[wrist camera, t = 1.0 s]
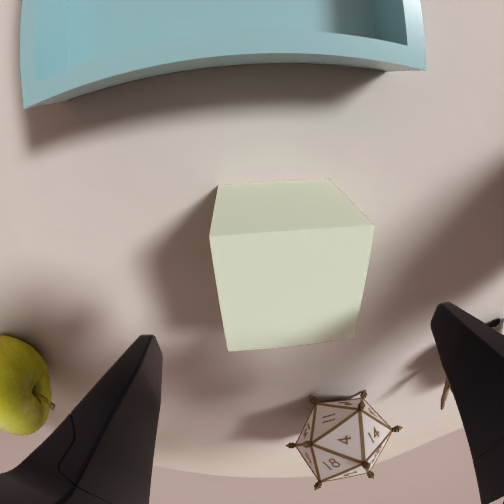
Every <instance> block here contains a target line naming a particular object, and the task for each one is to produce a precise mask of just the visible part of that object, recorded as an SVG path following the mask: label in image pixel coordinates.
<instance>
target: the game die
mask: <svg viewBox="0 0 504 504" xmlns="http://www.w3.org/2000/svg"><path fill="white" fill-rule="evenodd" d="M366 395H367V393H366V390H365V391H364V392H362V393H361V395H360V396H361V398H357V399H349V400H340V401H330V402H317V399H316V398H315V397H313V396H311V395H310V401H311V402H312V403H313V404H314V407H313V409H312V411H311V414H310V416H309V418H308V420H307V422H306V424H305V426H304V428H303V430H302V432H301V434H300V436H299V438H298V440H297V442H296V443H289V444H288V445H286V446H287V447H289V448H294V447H296V448H297V449H298V451H299V452H300V454H301V456H302V457H303V459H304V460H305V462H306V463H307V464H308V466H309V467H310V469H311V470H312V472H313V473H314V475H315V476H316V478H317V479H318V482H317V483H316V484H315V485H314V487H315V490H317V489H318V488H320V486H321V484H322V482H325V481H331V480H337V479H342V478H347V477H352V476H357V475H361V474H365V473H367V476H368V477H369V478H374V473H373V472H371V471H370V470H371V469H372V467H373V465H374V464H375V462H376V460H377V459H378V457H379V455H380V453H381V452H382V450H383V448H384V446H385V444H386V443H387V441H388V439H389V437H390V435H391V433H392V432H397V431H398V432H399V430H401V429H402V428H403V427H400V426H396V427H394V428H391V427H390V426H389V425H388V424H387V423H386V422H385V421H384V420H383V419H382V418H381V416H380V415H379V414H378V413H377V412H376V411H375V410H374V409H373V408H372V407H371V406H370V405H369V404H368V403H367V402H366V401H365V400H364V398H366Z"/></svg>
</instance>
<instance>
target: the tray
mask: <svg viewBox="0 0 504 504" xmlns="http://www.w3.org/2000/svg"><path fill="white" fill-rule="evenodd" d="M263 63H306V64H327V65H340V66H351V67H360V68H368V69H375V70H382V71H415V70H426V51H425V38H424V28H423V19H422V11H421V4H420V0H22V8H21V22H20V74H21V88H22V99H23V108H24V109H27V108H32V107H36V106H42V105H47V104H52V103H58V102H64V101H67V100H69V99H72V98H75V97H78V96H81V95H84V94H87V93H90V92H94V91H97V90H100V89H104V88H107V87H111V86H114V85H118V84H122V83H126V82H130V81H134V80H138V79H143V78H148V77H152V76H157V75H163V74H168V73H174V72H180V71H186V70H193V69H201V68H209V67H218V66H229V65H242V64H263Z"/></svg>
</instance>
